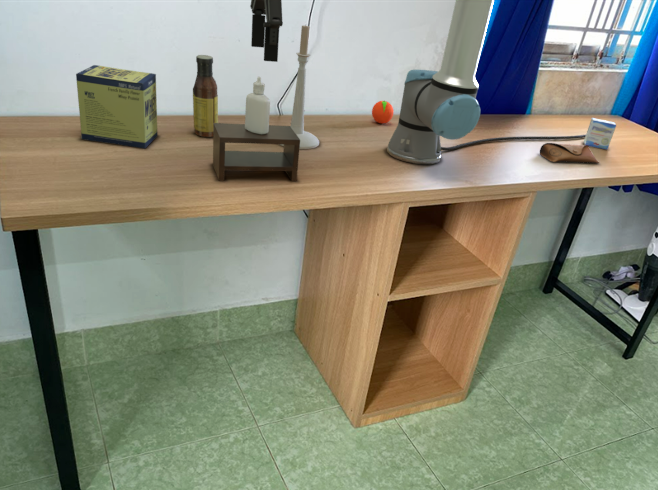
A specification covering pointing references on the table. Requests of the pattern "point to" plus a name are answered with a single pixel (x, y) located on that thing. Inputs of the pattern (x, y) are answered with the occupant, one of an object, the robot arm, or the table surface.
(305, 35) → the candlestick
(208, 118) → the sauce bottle
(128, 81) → the protein box
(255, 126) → the eye dropper bottle
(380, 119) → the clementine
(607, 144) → the medicine box
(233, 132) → the dark brown wooden stand
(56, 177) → the table surface
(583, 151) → the sunglasses case
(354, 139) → the table surface
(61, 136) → the table surface
